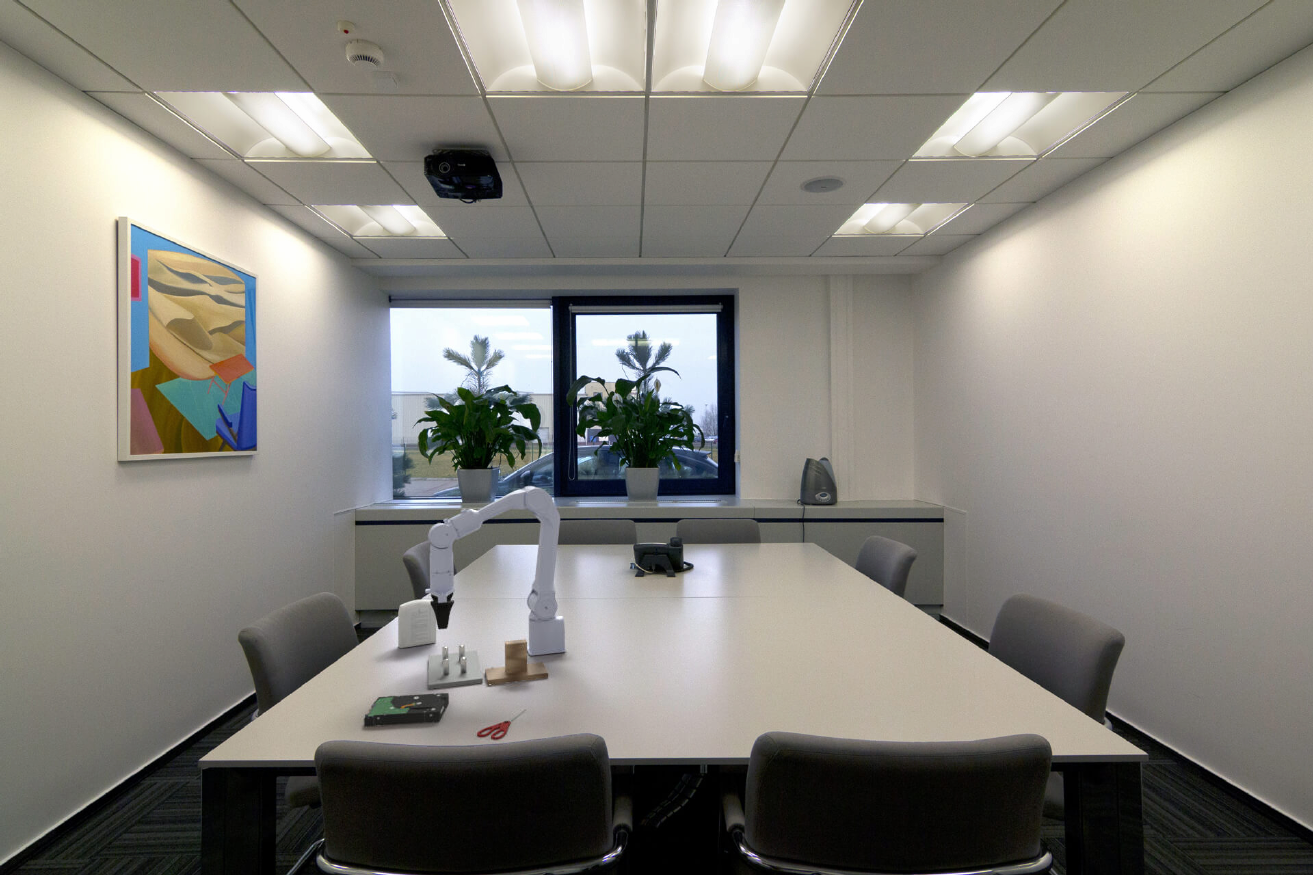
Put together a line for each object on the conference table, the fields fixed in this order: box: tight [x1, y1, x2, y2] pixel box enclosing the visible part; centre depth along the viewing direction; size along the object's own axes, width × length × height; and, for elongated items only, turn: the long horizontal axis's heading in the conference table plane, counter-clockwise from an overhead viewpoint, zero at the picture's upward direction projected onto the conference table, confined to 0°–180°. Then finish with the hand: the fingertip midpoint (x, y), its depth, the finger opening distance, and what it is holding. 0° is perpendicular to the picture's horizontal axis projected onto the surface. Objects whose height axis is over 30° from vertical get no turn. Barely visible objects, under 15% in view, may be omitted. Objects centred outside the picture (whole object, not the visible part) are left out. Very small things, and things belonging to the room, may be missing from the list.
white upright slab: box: [397, 599, 437, 649], centre depth 188 cm, size 10×4×12 cm, turn 123°
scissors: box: [476, 709, 527, 741], centre depth 135 cm, size 5×14×1 cm, turn 159°
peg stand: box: [428, 644, 484, 690], centre depth 166 cm, size 12×22×4 cm, turn 19°
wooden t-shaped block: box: [484, 638, 549, 686], centre depth 162 cm, size 14×8×8 cm, turn 109°
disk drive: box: [363, 692, 450, 727], centre depth 140 cm, size 10×3×15 cm
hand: (442, 624), depth 171 cm, fingers open, 7 cm apart
